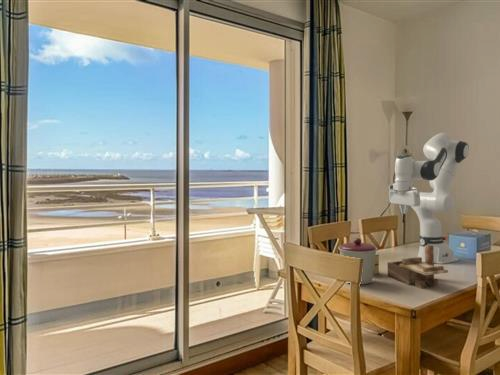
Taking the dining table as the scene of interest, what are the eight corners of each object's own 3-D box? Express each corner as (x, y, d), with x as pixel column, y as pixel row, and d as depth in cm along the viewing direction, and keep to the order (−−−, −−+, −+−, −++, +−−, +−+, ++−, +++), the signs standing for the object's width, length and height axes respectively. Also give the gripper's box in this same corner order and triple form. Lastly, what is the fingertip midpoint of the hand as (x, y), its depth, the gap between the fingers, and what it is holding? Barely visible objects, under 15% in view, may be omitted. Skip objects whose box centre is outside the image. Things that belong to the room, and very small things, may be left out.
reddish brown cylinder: (429, 277, 201) (429, 244, 200) (435, 279, 198) (435, 246, 197) (423, 278, 200) (423, 245, 199) (429, 280, 196) (429, 247, 196)
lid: (420, 263, 199) (420, 256, 199) (447, 272, 182) (447, 264, 182) (399, 265, 195) (399, 258, 195) (425, 275, 179) (425, 267, 179)
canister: (347, 288, 185) (347, 242, 184) (332, 278, 203) (332, 235, 202) (384, 286, 189) (384, 240, 187) (366, 275, 206) (366, 234, 205)
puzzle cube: (351, 273, 211) (351, 254, 211) (362, 269, 218) (362, 251, 217) (367, 277, 204) (367, 257, 203) (379, 273, 210) (379, 254, 210)
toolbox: (407, 273, 208) (407, 260, 208) (440, 285, 187) (440, 270, 187) (387, 276, 204) (387, 262, 204) (418, 288, 183) (418, 273, 183)
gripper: (423, 187, 201) (423, 215, 201) (396, 185, 220) (396, 211, 221) (412, 188, 199) (413, 216, 199) (386, 186, 218) (386, 211, 219)
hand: (404, 213), depth 210 cm, fingers closed
